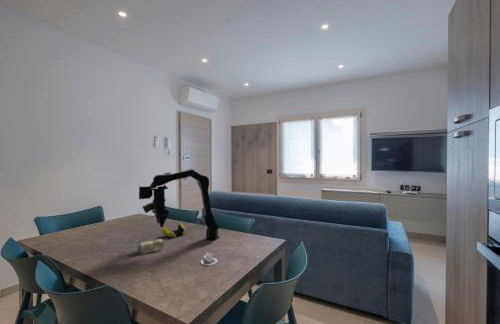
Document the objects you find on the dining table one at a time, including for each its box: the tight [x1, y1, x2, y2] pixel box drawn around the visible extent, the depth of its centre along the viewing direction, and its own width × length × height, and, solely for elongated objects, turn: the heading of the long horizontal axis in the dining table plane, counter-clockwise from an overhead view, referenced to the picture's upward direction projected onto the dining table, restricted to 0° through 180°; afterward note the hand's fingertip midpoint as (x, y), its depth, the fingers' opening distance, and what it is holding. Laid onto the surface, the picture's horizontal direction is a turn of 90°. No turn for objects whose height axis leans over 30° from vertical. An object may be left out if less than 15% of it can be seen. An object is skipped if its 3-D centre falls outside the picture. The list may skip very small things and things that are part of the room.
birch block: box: [136, 238, 164, 255], centre depth 125 cm, size 4×4×12 cm
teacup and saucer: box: [200, 252, 218, 266], centre depth 111 cm, size 9×8×4 cm
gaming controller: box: [161, 223, 187, 238], centre depth 150 cm, size 15×6×10 cm
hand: (160, 225), depth 129 cm, fingers open, 9 cm apart
